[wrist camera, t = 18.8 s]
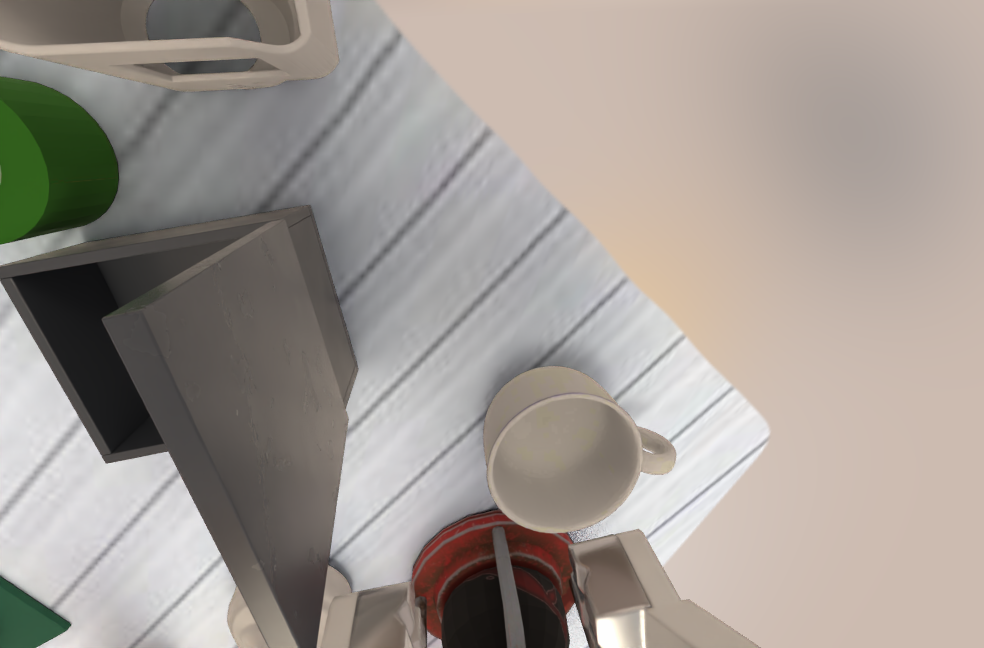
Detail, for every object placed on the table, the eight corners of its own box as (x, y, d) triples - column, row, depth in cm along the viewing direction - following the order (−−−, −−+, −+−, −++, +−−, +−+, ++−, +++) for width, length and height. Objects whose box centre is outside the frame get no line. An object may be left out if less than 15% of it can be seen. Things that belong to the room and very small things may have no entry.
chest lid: (286, 685, 14) (313, 676, 14) (99, 318, 9) (140, 310, 10) (335, 422, 28) (349, 419, 28) (268, 221, 23) (285, 218, 23)
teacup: (460, 450, 38) (468, 523, 31) (498, 333, 35) (518, 383, 27) (609, 476, 41) (648, 548, 34) (657, 371, 38) (713, 425, 30)
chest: (164, 406, 33) (105, 464, 27) (84, 242, 29) (-9, 267, 23) (358, 369, 34) (343, 416, 28) (310, 204, 30) (279, 218, 24)
